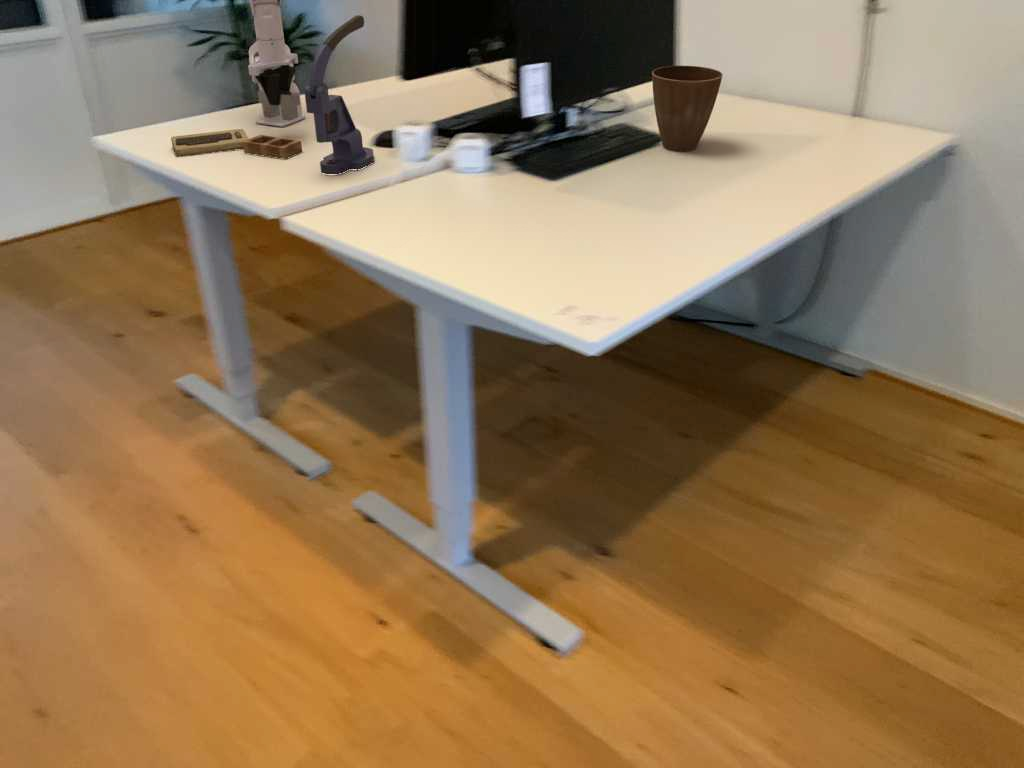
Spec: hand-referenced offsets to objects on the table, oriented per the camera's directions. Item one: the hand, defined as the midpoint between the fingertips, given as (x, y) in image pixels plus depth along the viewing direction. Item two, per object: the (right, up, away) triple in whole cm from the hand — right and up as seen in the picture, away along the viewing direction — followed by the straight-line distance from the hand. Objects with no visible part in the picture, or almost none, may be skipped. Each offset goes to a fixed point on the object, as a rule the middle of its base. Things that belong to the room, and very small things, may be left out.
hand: (279, 102), depth 190 cm
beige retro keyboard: (-15, -11, 0) cm, 18 cm away
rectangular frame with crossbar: (0, -12, -3) cm, 12 cm away
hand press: (+17, -17, -10) cm, 26 cm away
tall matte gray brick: (0, -3, +2) cm, 3 cm away
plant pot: (+89, -10, +1) cm, 90 cm away
